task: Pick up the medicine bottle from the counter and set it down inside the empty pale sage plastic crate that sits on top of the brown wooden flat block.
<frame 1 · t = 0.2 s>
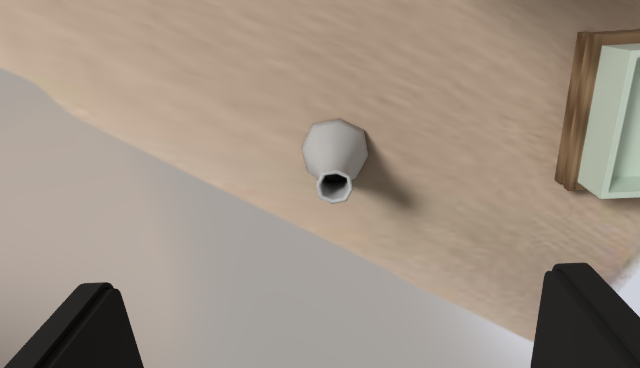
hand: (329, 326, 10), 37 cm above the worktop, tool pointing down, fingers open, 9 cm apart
flask: (334, 149, 47), on the worktop
brown wooden flat block: (630, 107, 43), on the worktop
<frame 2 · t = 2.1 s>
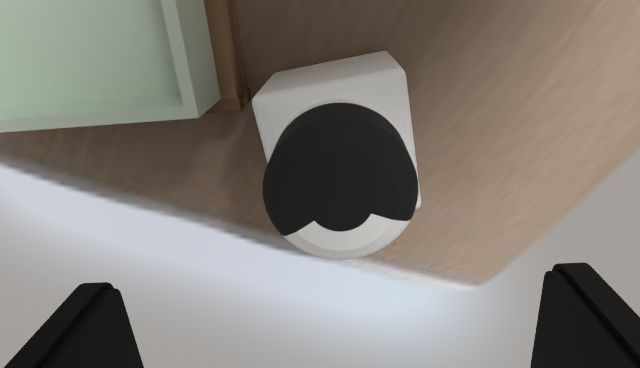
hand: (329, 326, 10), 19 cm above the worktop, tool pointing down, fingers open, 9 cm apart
medicine bottle: (339, 117, 27), on the worktop
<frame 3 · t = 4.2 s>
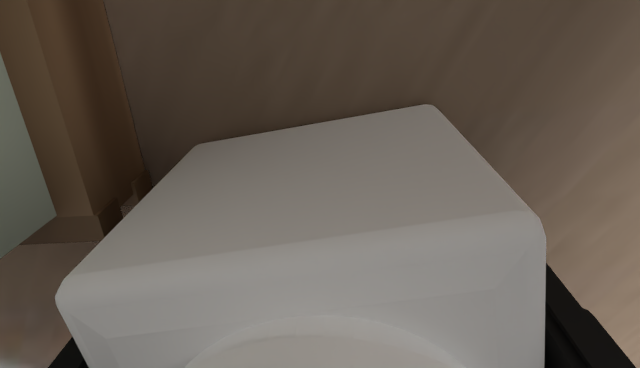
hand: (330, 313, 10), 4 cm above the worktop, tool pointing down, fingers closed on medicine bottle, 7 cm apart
medicine bottle: (332, 226, 14), on the worktop, touching gripper
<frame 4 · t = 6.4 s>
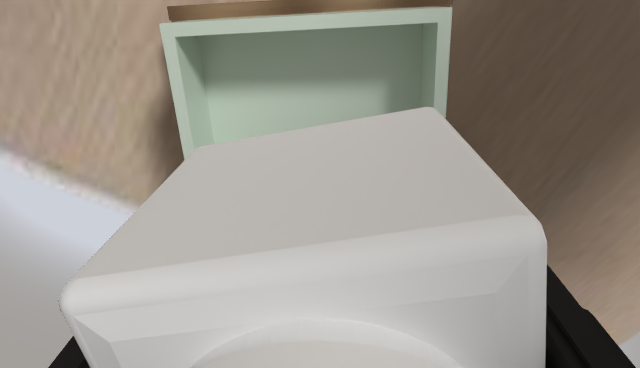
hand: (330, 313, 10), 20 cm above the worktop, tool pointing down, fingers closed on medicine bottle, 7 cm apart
medicine bottle: (332, 228, 14), point 16 cm above the worktop, touching gripper
sage crate: (314, 116, 25), point 3 cm above the worktop, touching brown wooden flat block
brown wooden flat block: (316, 104, 28), on the worktop
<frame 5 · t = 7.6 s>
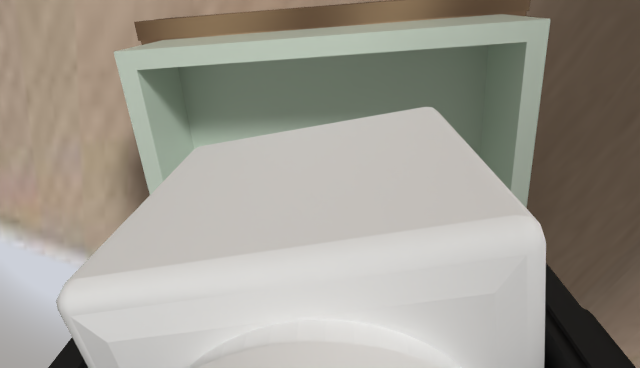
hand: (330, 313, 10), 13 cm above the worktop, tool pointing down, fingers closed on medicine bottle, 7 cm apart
medicine bottle: (332, 228, 14), point 9 cm above the worktop, touching gripper
sage crate: (336, 162, 19), point 3 cm above the worktop, touching brown wooden flat block
brown wooden flat block: (336, 141, 22), on the worktop
when the fingers open (9 cm above the worktop, at t = 8.7 s): medicine bottle drops 2 cm, resting on sage crate.
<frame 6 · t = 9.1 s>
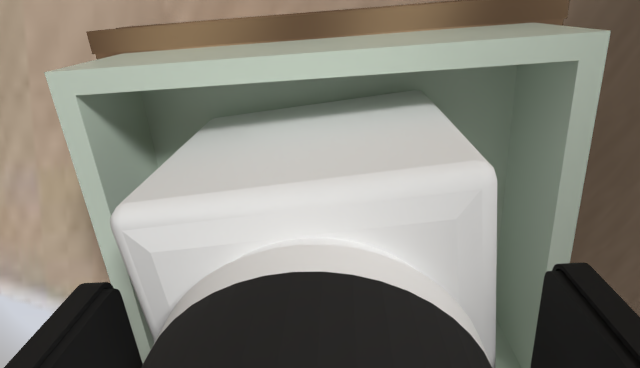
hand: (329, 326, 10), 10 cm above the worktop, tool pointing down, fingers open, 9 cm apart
medicine bottle: (328, 198, 16), point 3 cm above the worktop, touching sage crate
sage crate: (332, 197, 16), point 3 cm above the worktop, touching medicine bottle, brown wooden flat block
brown wooden flat block: (333, 168, 19), on the worktop
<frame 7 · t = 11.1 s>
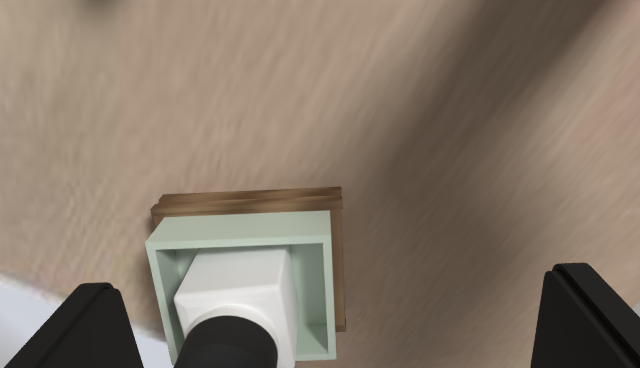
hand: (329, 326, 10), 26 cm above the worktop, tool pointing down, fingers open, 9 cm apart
medicine bottle: (251, 275, 36), point 3 cm above the worktop, touching sage crate
sage crate: (254, 274, 36), point 3 cm above the worktop, touching medicine bottle, brown wooden flat block
brown wooden flat block: (258, 255, 39), on the worktop
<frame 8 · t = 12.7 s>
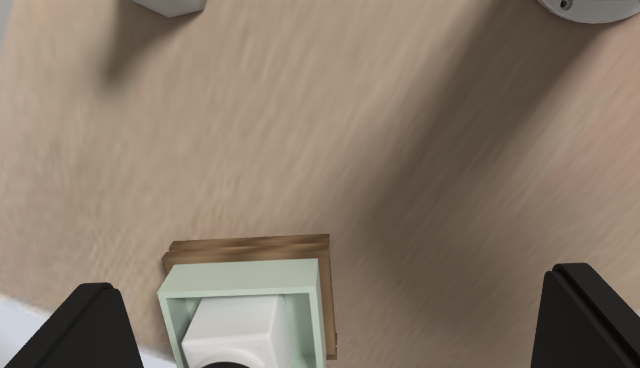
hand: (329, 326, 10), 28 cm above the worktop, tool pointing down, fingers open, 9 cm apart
medicine bottle: (251, 312, 41), point 3 cm above the worktop, touching sage crate
sage crate: (253, 311, 41), point 3 cm above the worktop, touching medicine bottle, brown wooden flat block
brown wooden flat block: (258, 291, 44), on the worktop
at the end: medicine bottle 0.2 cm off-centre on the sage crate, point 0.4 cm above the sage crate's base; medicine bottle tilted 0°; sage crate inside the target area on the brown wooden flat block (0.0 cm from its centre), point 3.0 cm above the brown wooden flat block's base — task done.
